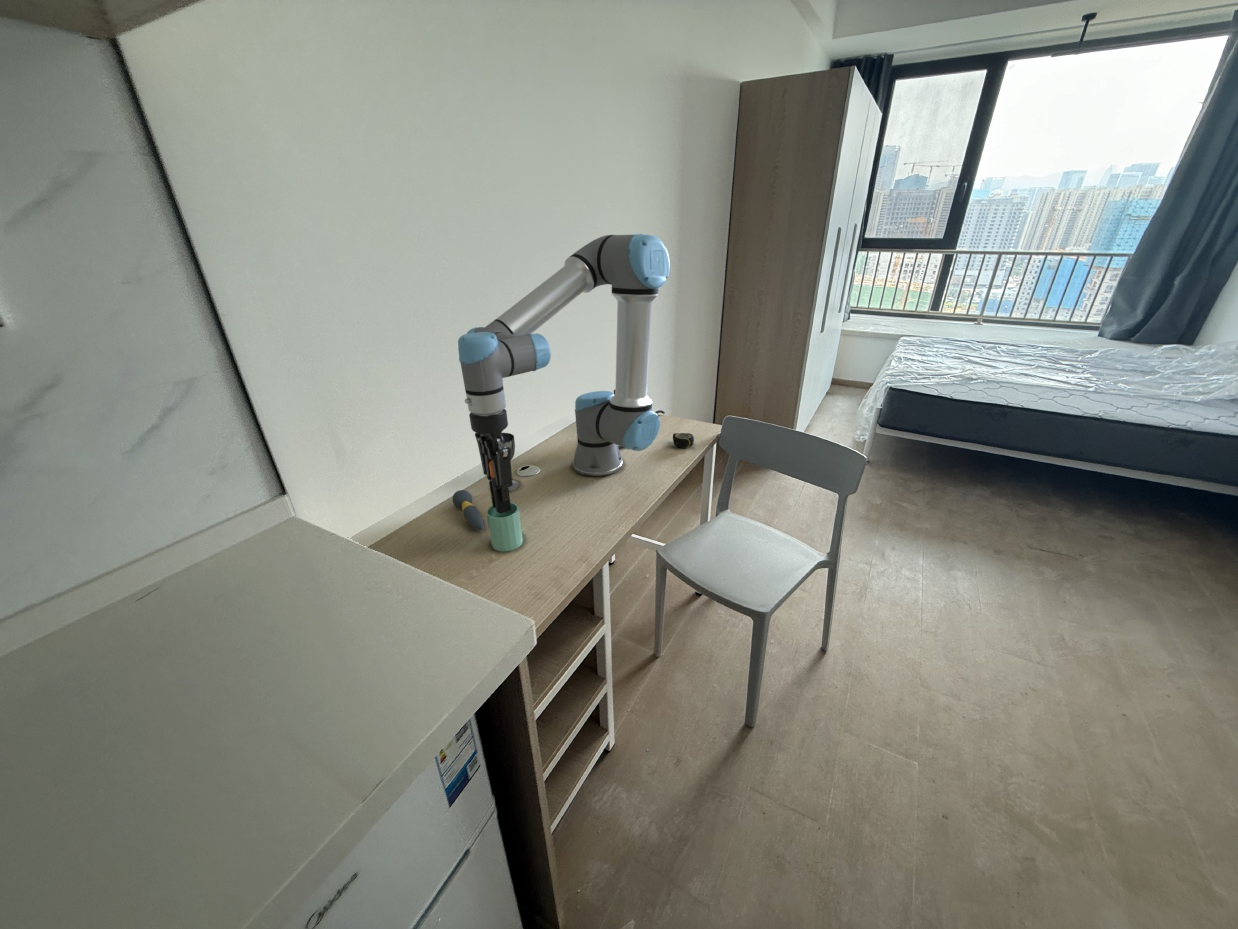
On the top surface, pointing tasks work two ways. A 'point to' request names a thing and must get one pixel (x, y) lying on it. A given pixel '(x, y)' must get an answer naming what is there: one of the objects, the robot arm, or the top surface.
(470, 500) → the paintbrush
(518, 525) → the green pen cup
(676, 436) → the tape measure
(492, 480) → the marker
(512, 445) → the wine glass
